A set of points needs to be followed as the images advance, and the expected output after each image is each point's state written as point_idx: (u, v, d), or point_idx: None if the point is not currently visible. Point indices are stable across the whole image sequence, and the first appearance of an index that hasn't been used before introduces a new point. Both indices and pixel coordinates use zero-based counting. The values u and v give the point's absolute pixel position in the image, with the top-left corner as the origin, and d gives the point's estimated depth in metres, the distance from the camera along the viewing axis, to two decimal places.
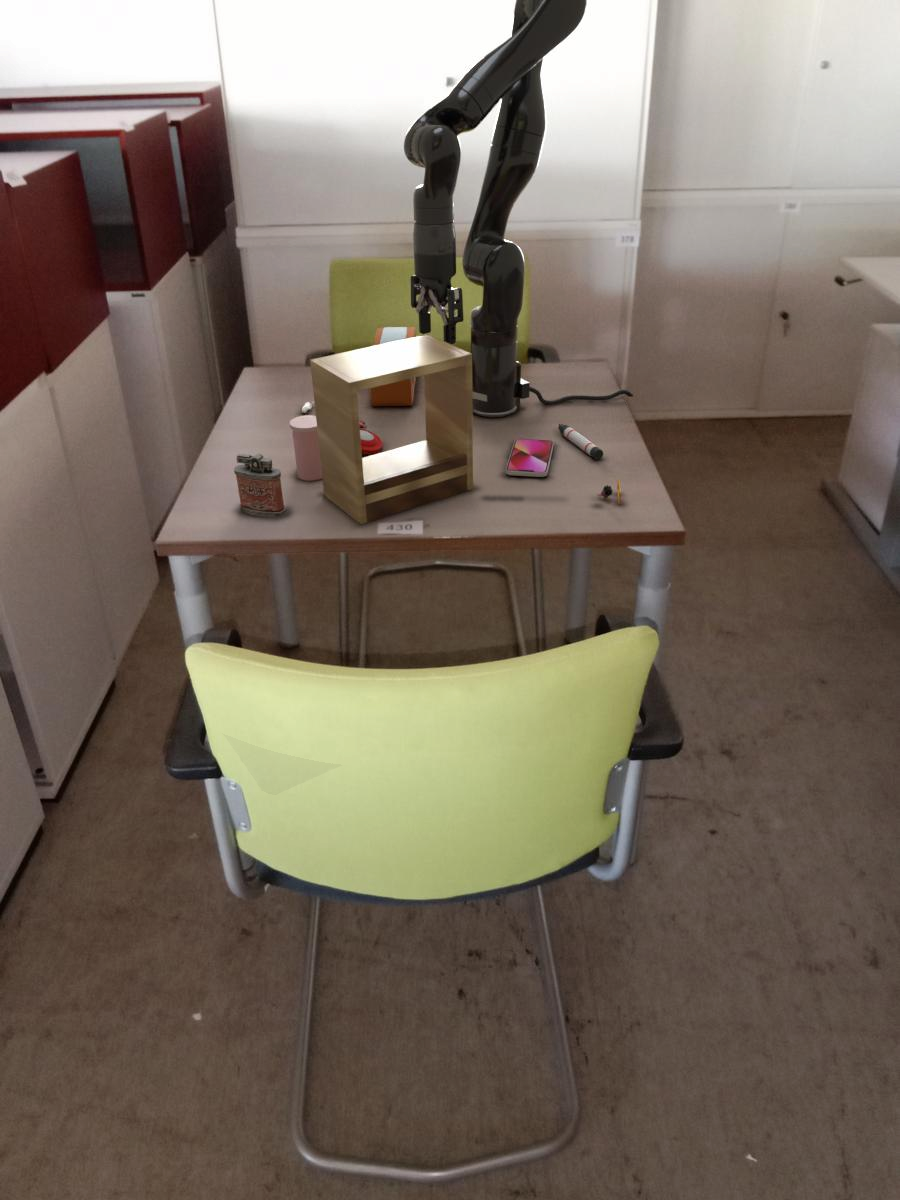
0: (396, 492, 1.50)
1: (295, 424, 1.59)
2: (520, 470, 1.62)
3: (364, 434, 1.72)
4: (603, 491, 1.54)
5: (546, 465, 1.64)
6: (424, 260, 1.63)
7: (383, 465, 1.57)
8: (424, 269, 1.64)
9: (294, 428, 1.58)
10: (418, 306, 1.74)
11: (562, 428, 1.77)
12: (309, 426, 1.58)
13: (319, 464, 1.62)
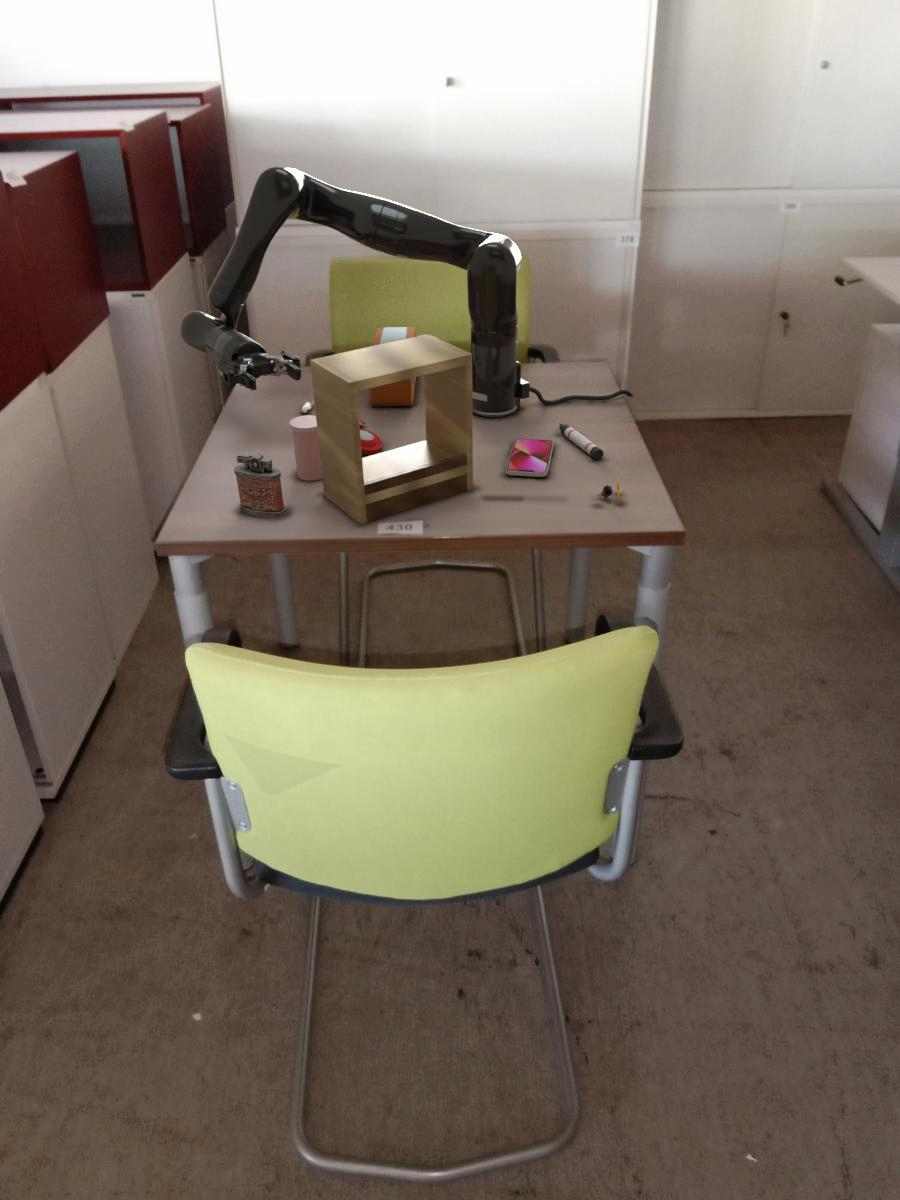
0: (396, 492, 1.50)
1: (295, 424, 1.59)
2: (520, 470, 1.62)
3: (364, 434, 1.72)
4: (603, 491, 1.54)
5: (546, 465, 1.64)
6: None
7: (383, 465, 1.57)
8: None
9: (294, 428, 1.58)
10: None
11: (563, 428, 1.77)
12: (309, 426, 1.58)
13: (319, 464, 1.62)
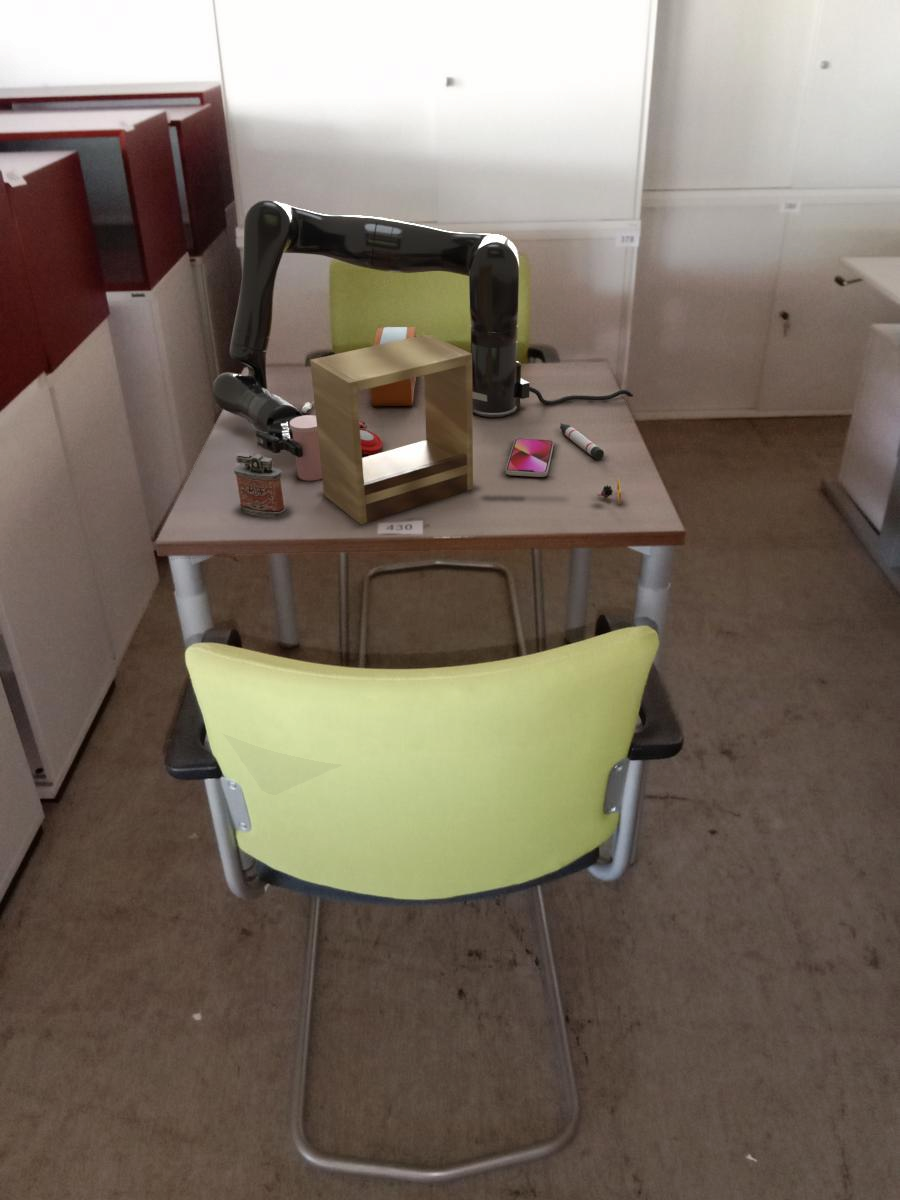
0: (396, 492, 1.50)
1: (296, 424, 1.59)
2: (520, 470, 1.62)
3: (364, 434, 1.72)
4: (603, 491, 1.54)
5: (546, 465, 1.64)
6: None
7: (383, 465, 1.57)
8: None
9: (294, 429, 1.58)
10: None
11: (564, 428, 1.77)
12: (309, 426, 1.58)
13: (319, 464, 1.62)
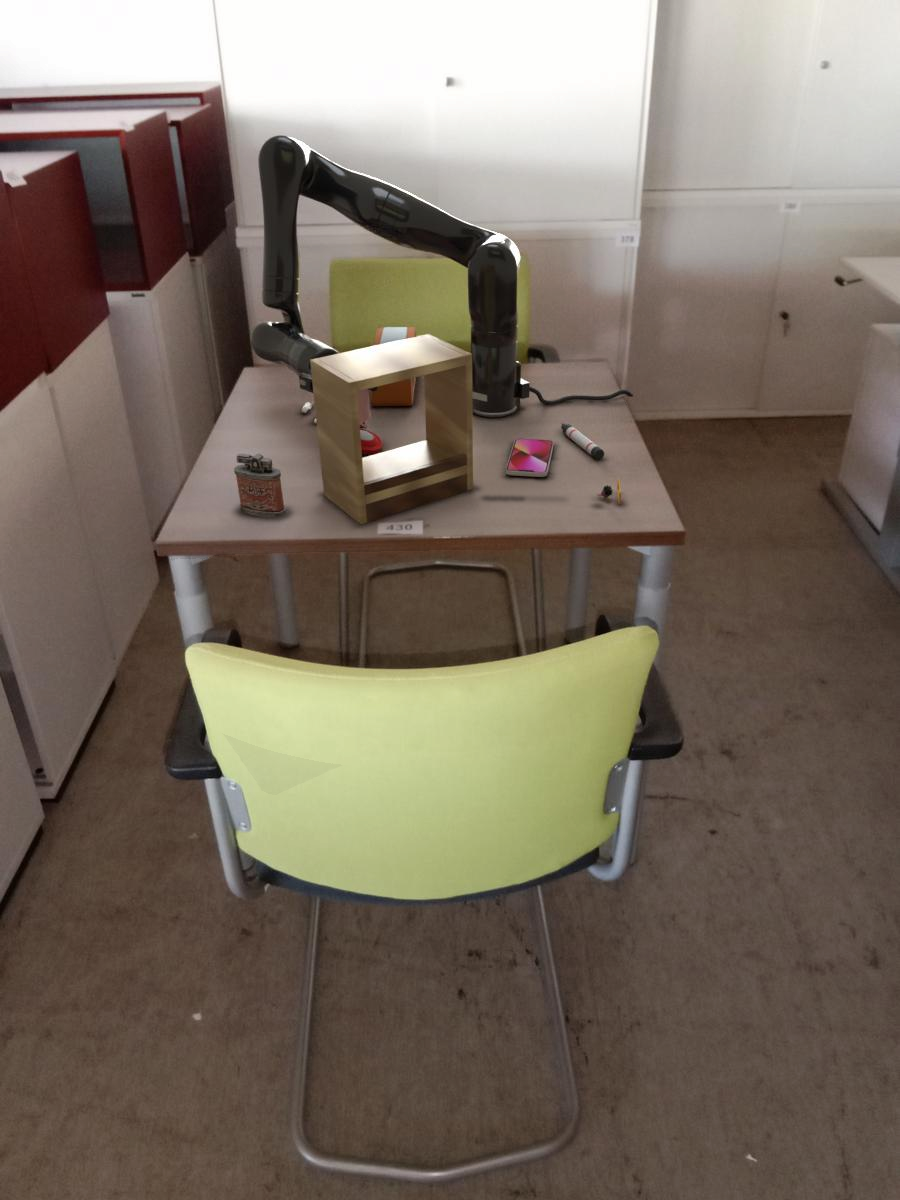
0: (396, 492, 1.50)
1: None
2: (520, 470, 1.62)
3: (364, 434, 1.72)
4: (603, 491, 1.54)
5: (546, 465, 1.64)
6: None
7: (383, 465, 1.57)
8: None
9: None
10: None
11: (565, 427, 1.77)
12: None
13: (363, 406, 1.60)
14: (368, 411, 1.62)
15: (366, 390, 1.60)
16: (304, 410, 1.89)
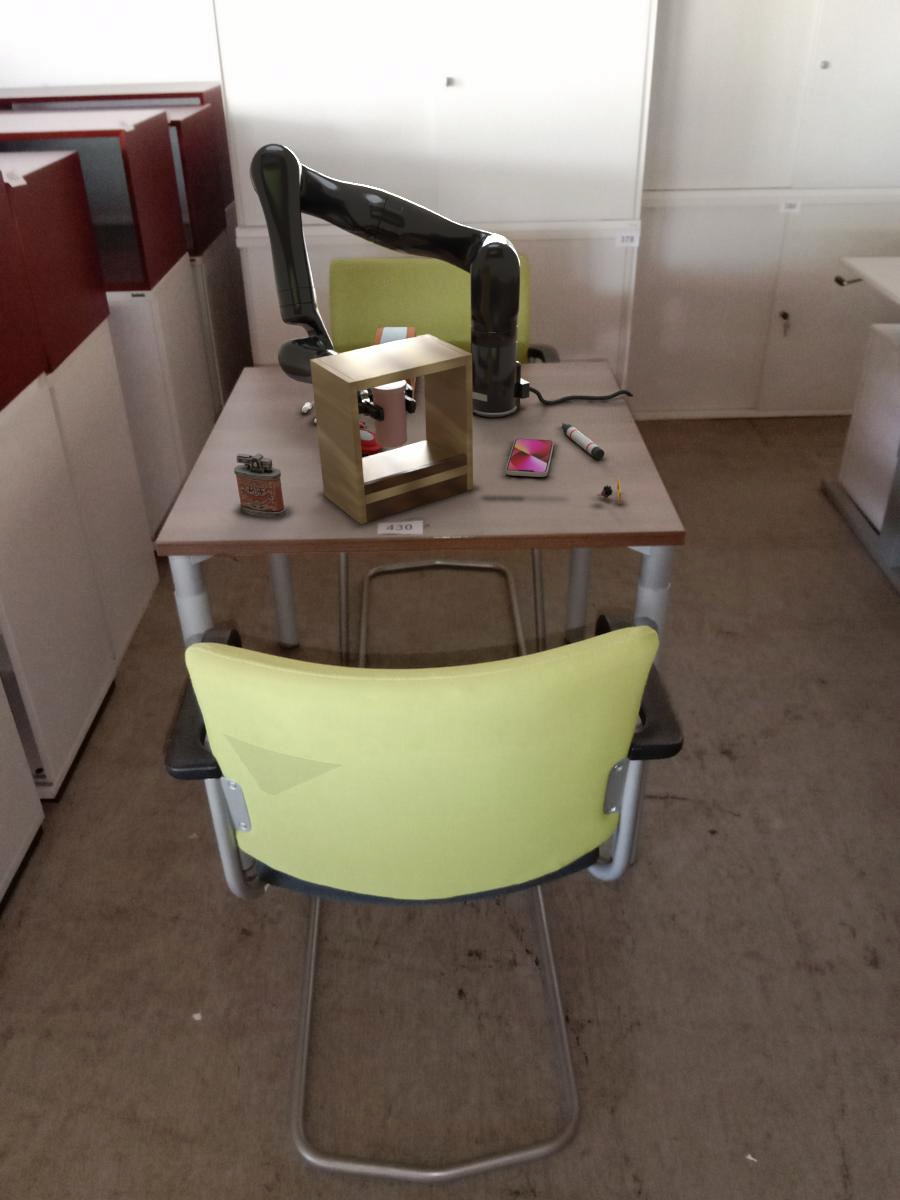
0: (396, 492, 1.50)
1: None
2: (520, 470, 1.62)
3: (364, 434, 1.72)
4: (603, 491, 1.54)
5: (546, 465, 1.64)
6: None
7: (383, 465, 1.57)
8: None
9: (376, 390, 1.48)
10: None
11: (565, 427, 1.77)
12: (392, 387, 1.48)
13: (400, 429, 1.52)
14: (405, 434, 1.53)
15: (404, 412, 1.51)
16: (304, 410, 1.89)
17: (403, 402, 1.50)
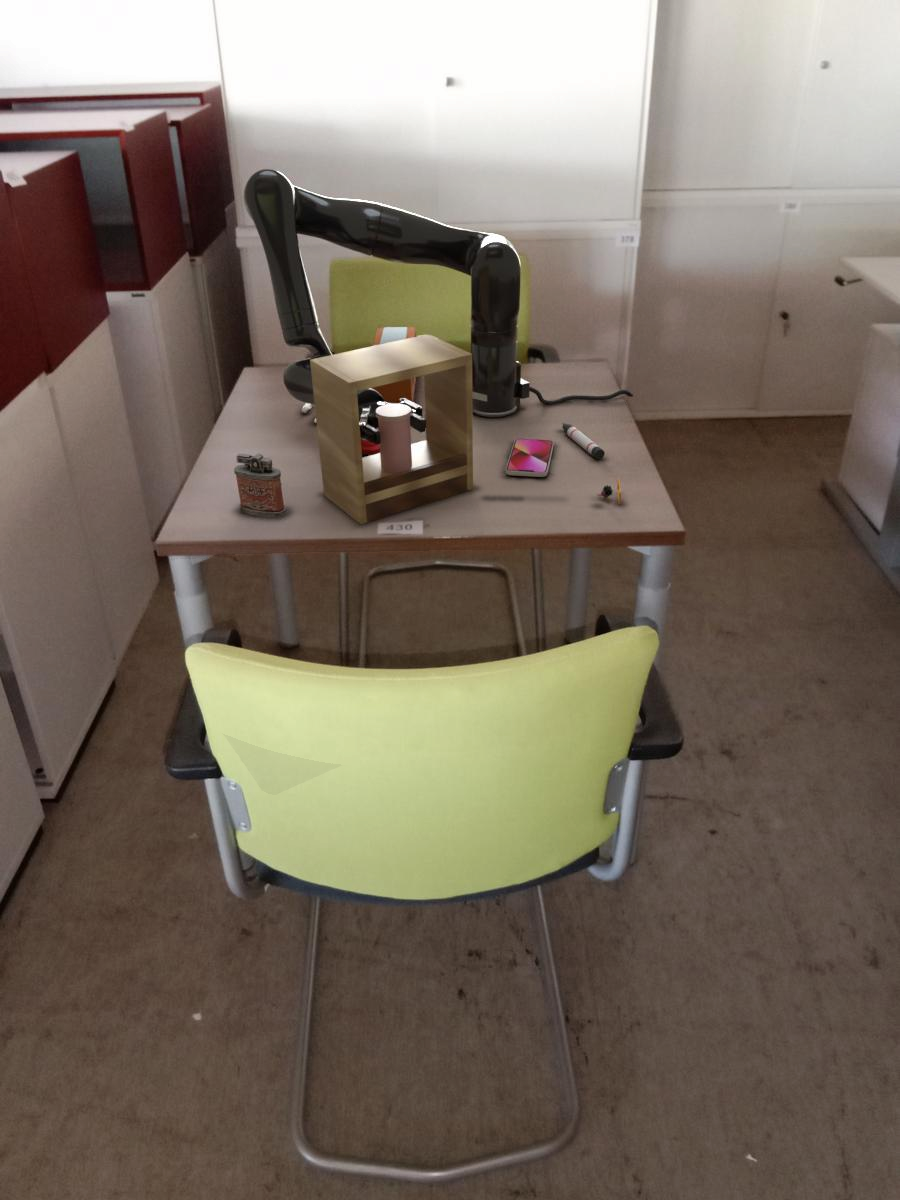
0: (396, 492, 1.50)
1: (382, 413, 1.50)
2: (520, 470, 1.62)
3: None
4: (603, 491, 1.54)
5: (546, 465, 1.64)
6: None
7: None
8: None
9: (382, 417, 1.49)
10: None
11: (566, 427, 1.77)
12: (398, 414, 1.49)
13: (405, 455, 1.53)
14: (410, 460, 1.55)
15: (409, 438, 1.52)
16: (304, 410, 1.89)
17: (408, 429, 1.51)
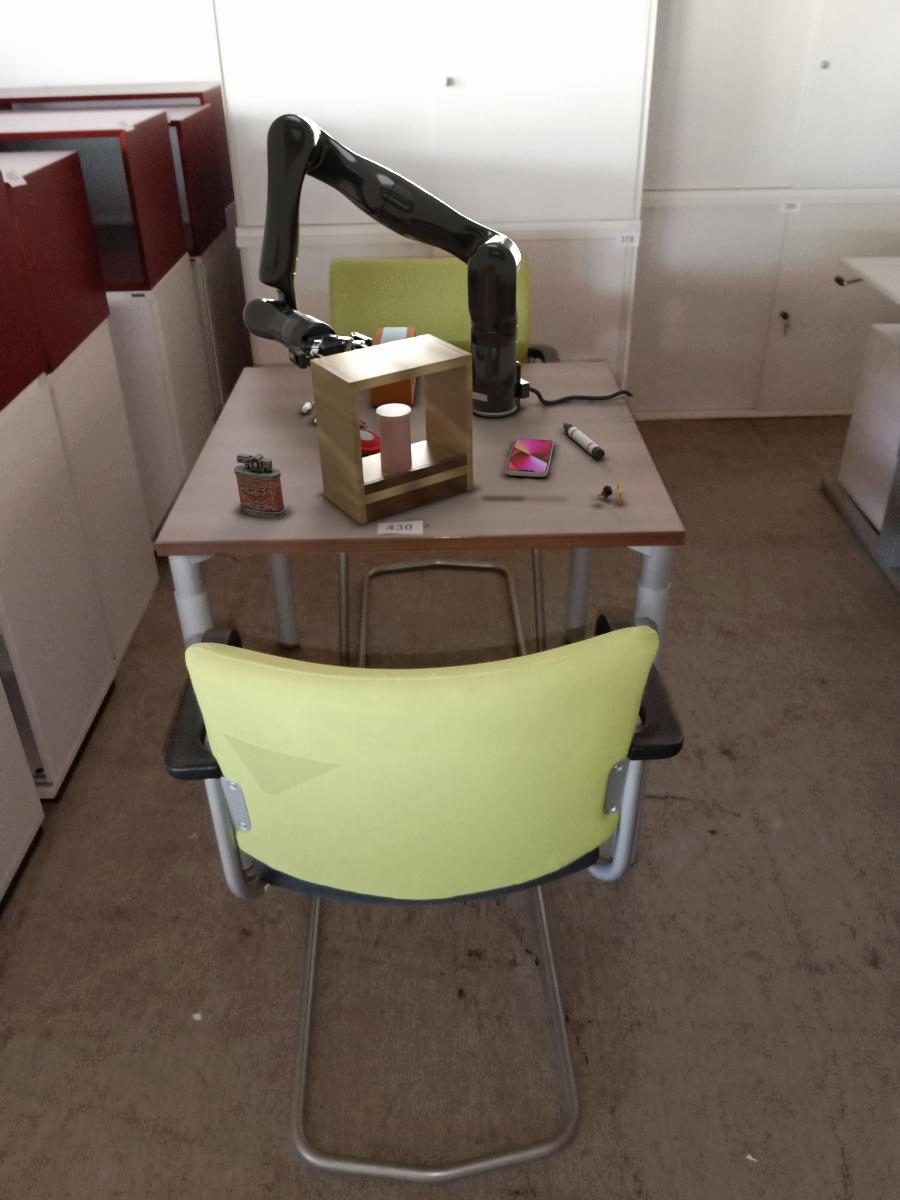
0: (396, 492, 1.50)
1: (382, 413, 1.50)
2: (520, 470, 1.62)
3: (364, 434, 1.72)
4: (603, 491, 1.54)
5: (546, 465, 1.64)
6: None
7: None
8: None
9: (382, 417, 1.49)
10: None
11: (566, 427, 1.77)
12: (398, 414, 1.49)
13: (405, 455, 1.53)
14: (410, 460, 1.55)
15: (409, 438, 1.52)
16: (304, 410, 1.89)
17: (408, 429, 1.51)
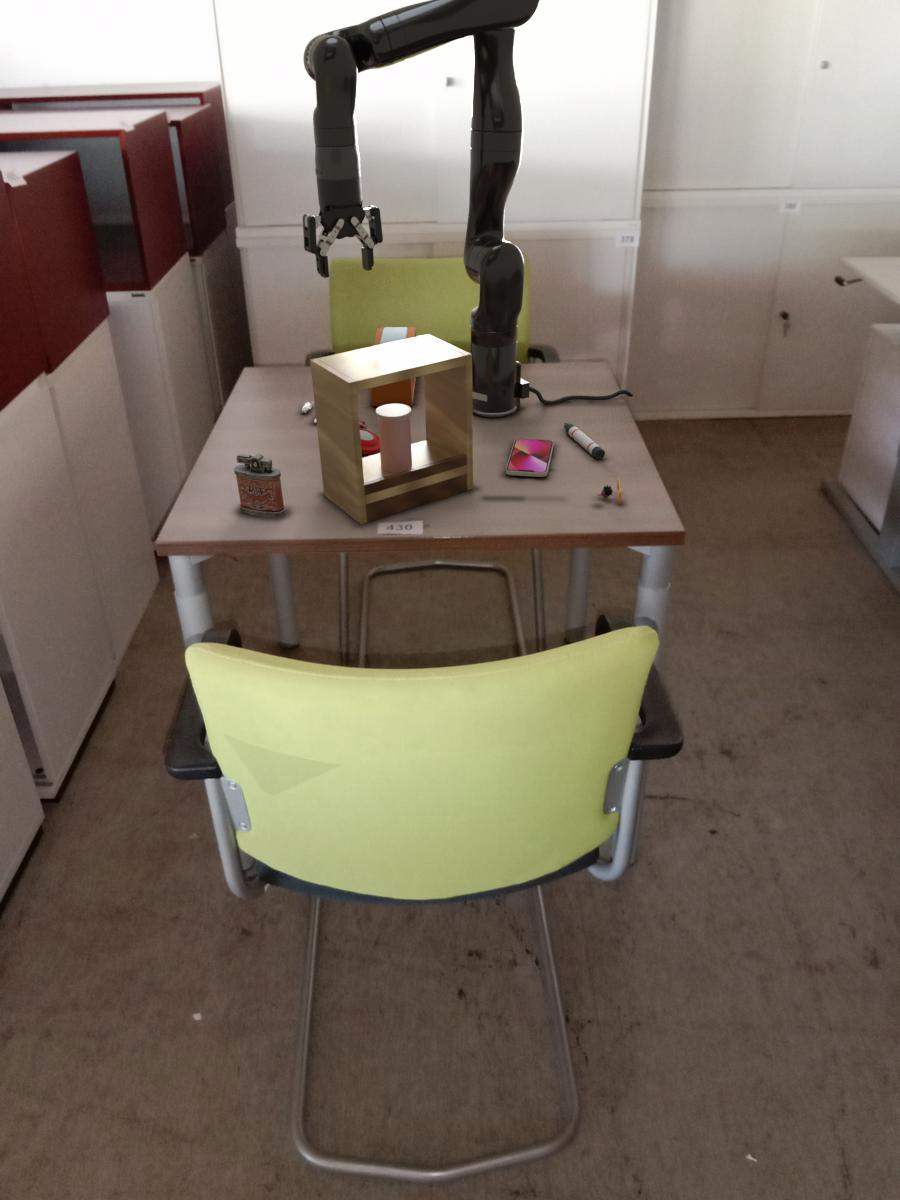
0: (396, 492, 1.50)
1: (382, 413, 1.50)
2: (520, 470, 1.62)
3: (364, 434, 1.72)
4: (603, 491, 1.54)
5: (546, 465, 1.64)
6: None
7: None
8: None
9: (382, 417, 1.49)
10: None
11: (567, 427, 1.77)
12: (398, 414, 1.49)
13: (405, 455, 1.53)
14: (410, 460, 1.55)
15: (409, 438, 1.52)
16: (304, 410, 1.89)
17: (408, 429, 1.51)
